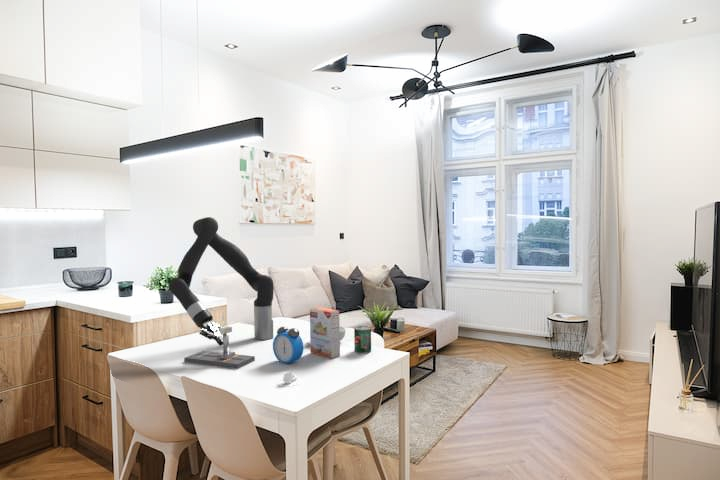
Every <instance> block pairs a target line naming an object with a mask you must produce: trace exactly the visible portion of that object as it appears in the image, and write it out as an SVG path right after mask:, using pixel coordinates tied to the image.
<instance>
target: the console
mask: <svg viewBox="0 0 720 480" xmlns="http://www.w3.org/2000/svg"><path fill="white" fill-rule="evenodd" d="M219 353H222V352H218V351H209V350H201V351H198V352H196V353H192V354H191V355H188V356H185V357H184V358H183V359H184V361H183V362H184V363H187V364H194V365H195V364H196V365H203V366H211V367H213V366H214V367H217V368H218V367H221V368H225V369H227V368H228V369H236V370H239V369H241V368H243V367H245V366H247V365H249V364H251V363H253V362H255V360H256V357H255V356H254V355H245V354H239V353H237V354H236V353H235V356H233V357H231V358H228V359H221V358H217V354H219Z"/></svg>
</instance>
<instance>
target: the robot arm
mask: <svg viewBox="0 0 720 480" xmlns="http://www.w3.org/2000/svg"><path fill="white" fill-rule="evenodd" d="M192 229H193V233H194V234H195V235H196V236H197V237H196V239H195V241H194V242H193V244H192V245H191V247H190V248H189V249H188V251H186V253H185V254H184V256H183V258H182V260H181V262H180V264H179V266H178V269H177V272H178V273H177V274H178V275H177V277H173V278H171V279H170V280H169V282H168V289H169V292H170V293H172V295H173V296H174V297H175V298H176V299H177V300H178V302H180V304H181V306H182V307H183V309H184V310H185V312H186V313H187V315H188V316H189V318H190V319H191V320H192V321H193V323H194V324H195V325H196V326H197V328H198V329H199V328H200V331H199V335H201V336H203V337H205V338H206V339H208V340H210V341H211V340H214V341H215V342H216V343H217V345H219V346H223V336H221V335H222V334H219V329H221V328H223V325H222V323H219V324H218V323H217V322H216V321H215V320H213V318H214V317H213V315H212V314H211V313H210V311H209V310H208V309H207V307H206V306H205V305H204V304H203V303H202V302H201V301H200V299H199V298H198V297H197V295H196V294H194V293H193V292H192V290H191V289H190V287H191V283H192V280H193V275H195V274H194V273H195V272H196V269H197V267H198V265H199V263H200V261H201V259H202V256H203V255H204V253H205V251H206V249H207V248H208V246H210V248H212V249H213V250H214V251H215V253H216V254H217V255H219V256H220V258H222V259H223V261H224V262H225V263H227V264H228V265H229V267H231V268H232V269H233V270H234V271H235V272H237V274H239V275H240V276H241V277H242V278H243V279H244V280H245V281H246V282H247V284H249V286H250V287H251V288H252V290H253V291H255V292H256V299H254V301H253V322H254V324H253V325H254V326H253V328H254V330H253V331H254V332H253V333H254V334H253V335H254V339H255V340H257V341H264V340H270V339H274V320H273V300H274V281H273V278H272V277H271V276H269V275H266V274H261V273H260V272H258V271H257V270H256V268H254V267H253V265H251V263H250V261H249V258H248V257H247V255H246V254H245V253H244V252H243V251H242V250H241V249H240V248H239V247H238V246H237V245H236V244H234V243H232V242H230V241H229V240H227V239H225V238H223V237H222V236H220V235H219V234H218V229H219V224H218V221H217V220H216V219H215V218H214V217H211V216H210V217H203V218H200V219H197V220H196V221H194V222H193V224H192Z"/></svg>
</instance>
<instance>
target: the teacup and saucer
mask: <svg viewBox="0 0 720 480" xmlns="http://www.w3.org/2000/svg"><path fill="white" fill-rule="evenodd" d="M282 382H284V383H285V384H286V385H284V384H281V383H282ZM292 382H295V383H294V384H292ZM299 382H300V381H299V380H298V376H297V375H296V374H293V372H292V371H286V372H284V373H283V379H282V380H281V379H280V380H279V381H277V386H281V387H287V388H288V387H293V386H296V385H298V384H299ZM290 384H291V385H290Z"/></svg>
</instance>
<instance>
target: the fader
mask: <svg viewBox="0 0 720 480" xmlns="http://www.w3.org/2000/svg"><path fill="white" fill-rule="evenodd" d="M231 332H233V327H232V326H224V327H222V328H221V329H219V334H221V335H222V338H223V345H222V352H221V353H219V354H217V358H221V359H228V358H231V357H233V356H235V354H236V352H235V351H230V341H229V340H230V338H229V337H230V336H229V335H230V333H231Z"/></svg>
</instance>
